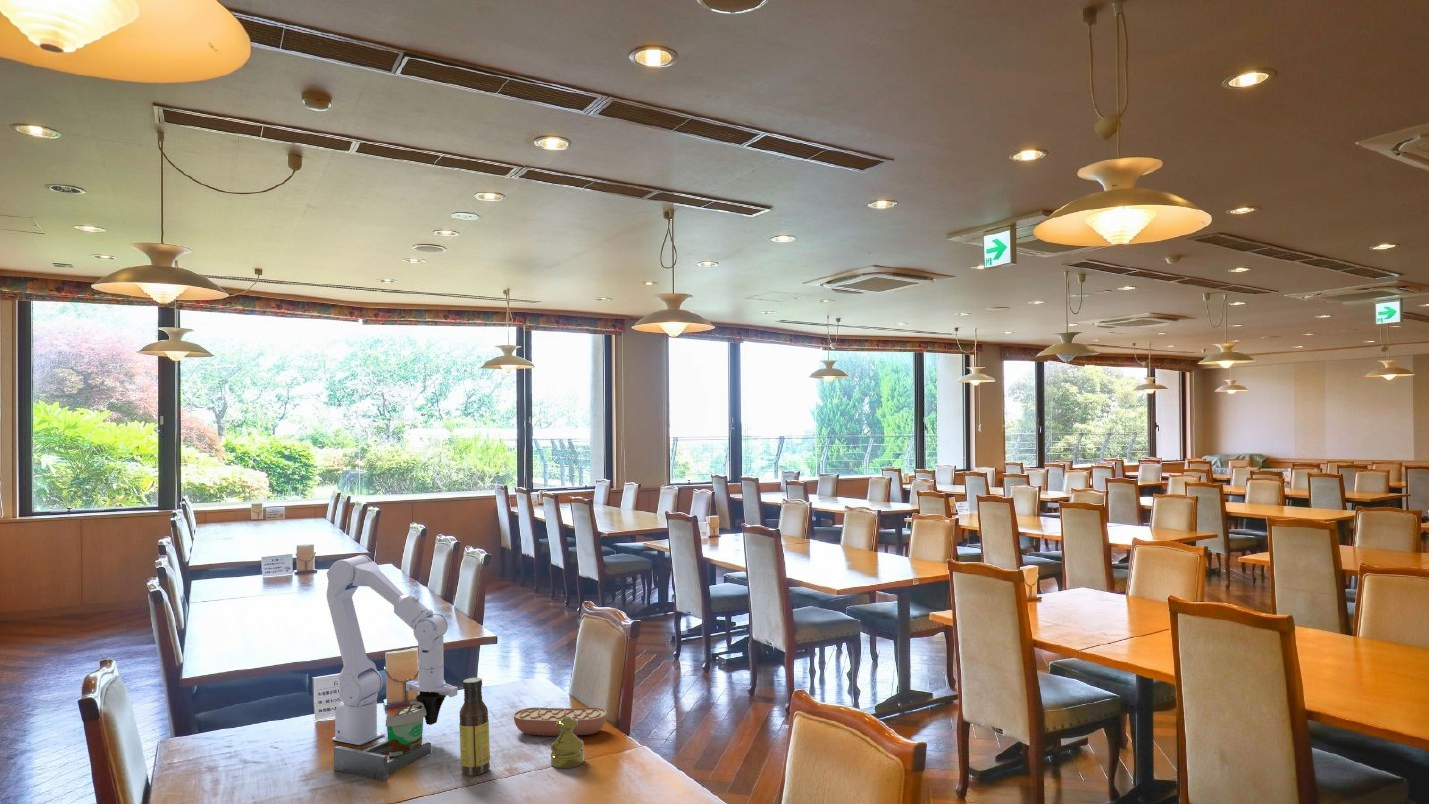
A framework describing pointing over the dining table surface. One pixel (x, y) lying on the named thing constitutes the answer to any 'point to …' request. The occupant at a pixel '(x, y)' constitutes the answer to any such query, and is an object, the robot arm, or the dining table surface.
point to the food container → (405, 729)
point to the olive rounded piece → (567, 745)
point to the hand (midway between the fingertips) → (431, 723)
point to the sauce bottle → (474, 730)
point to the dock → (375, 760)
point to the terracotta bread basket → (546, 718)
